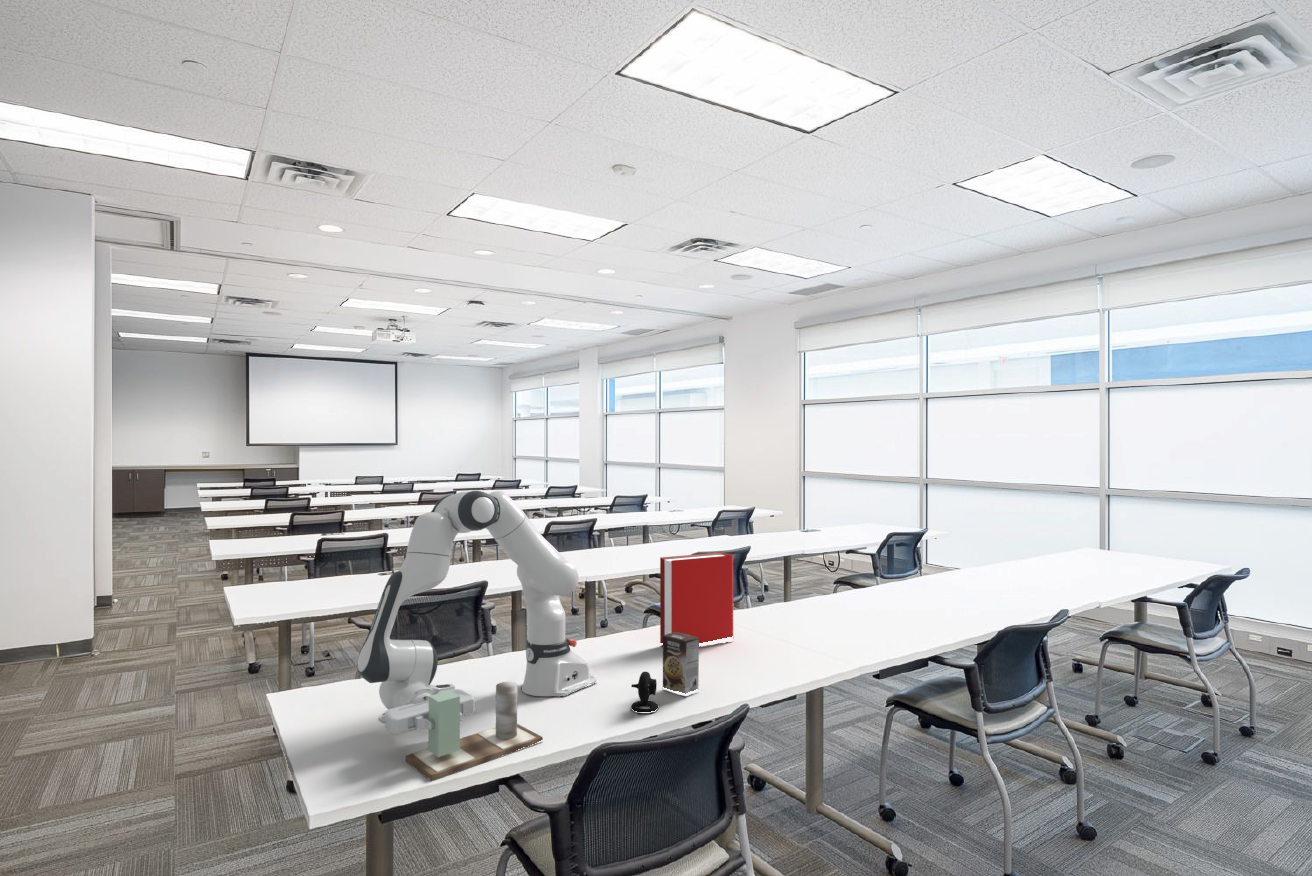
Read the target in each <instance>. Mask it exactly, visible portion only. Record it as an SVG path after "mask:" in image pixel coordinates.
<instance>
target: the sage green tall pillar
mask: <svg viewBox="0 0 1312 876" xmlns="http://www.w3.org/2000/svg"><path fill="white" fill-rule="evenodd" d="M429 719H433V720H434V721H435V728H434V729H431V730H427V731H428V738H427V739H428V742H427V745H428V748H427V749H428V750H429V751H430V752H432V753H433V754H435V755H436V756H437V757H441V756H444V755H447V754H450V753H453V752H456V751H459V750H460V738H461V737H460V736H461V735H460V734H461V732H460V729H461V726H460V723H461V721H460V696H458V695H456V694H455V693H453V692H451V691H447V692H443V693H439V694H435V695H431V696H429Z"/></svg>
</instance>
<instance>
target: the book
mask: <svg viewBox="0 0 1312 876" xmlns="http://www.w3.org/2000/svg"><path fill="white" fill-rule="evenodd" d="M659 564H660V565H659V566H660V567H659V569H660V570H659V571H660V572H659V574H660V575H659V576H660V577H659V578H660V580H659V582H660V583H659V584H660V585H659V587H660V589H659V593H660V594H659V595H660V596H659V597H660V599H659V600H660V601H659V603H660V604H659V605H660V609H659V612H660V613H659V614H660V615H659V617H660V624H659V630H660V631H659V636H660V637H659V638H660V641H659V644H660V643H663V635H666V634H669V633H674V632H679V633H683V634H687V635H691V636H695V637H699V643H703V642H708V641H713V640H717V639H722V638H727V637H732V636H733V637H734V554H732V553H728V552H709V553H697V554H696V553H695V554H685V555H675V556H663V557H660V558H659Z"/></svg>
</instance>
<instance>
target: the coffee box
mask: <svg viewBox="0 0 1312 876" xmlns="http://www.w3.org/2000/svg"><path fill="white" fill-rule="evenodd" d="M699 655H700V648H699V637H695V636H691V635H687V634H683V633H679V632H674V633H669V634H666V635H663V646H662V688H663V687H664V688H667V689H670V690H673V691H679V692H682V693H685V694H686V693H688V692H690V691H694V690H696V689H698V690H699V686H700V685H699V681H700V680H699V674H700V673H699V671H700V670H699V663H700V662H699V661H700V656H699Z"/></svg>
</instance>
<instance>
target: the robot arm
mask: <svg viewBox="0 0 1312 876" xmlns="http://www.w3.org/2000/svg"><path fill="white" fill-rule="evenodd" d="M485 529H486V530H487V531H488V532H489V534H490V535H491V537H492V538H493V539H494V540H495V542H496V543H497V544H498V546H499V547H500V548H501V550H503V552H504V553H505V554H506V556H507V557H508V558H509V559H510V560H511V561H512V562H514V563H515V564H516V565H517V567H516V576H517V579H518V580H519V583H520V584H521V587H522V588H521V589H522V592H523V597H524V598H523V599H524V602H525V607H526V614H527V640H526V643H525V644H526V645H525V655H526V657H525V658H526V666H525V667H526V668H525V674H524V679H523V683H522V687H521V691H522V693H524V694H526V695H530V696H534V697H560V696H564V697H566V696H565V695H567V694H569V693H571V692H573V691H577V690H579V689H581V688H583V687H585V686H587V685H588V684H593V683H595V682H596V681H597V678H596V677H595V676H594V675H592V674H590V672H589V671H590V670H589V667H588V663H587V661H586V660H585V659H584V658H582V657H581V656H579V655H578V654H576V653H575V652H574V651H572V650H571V647H572V648H575V647H577V644H578V641H577V640H576V639H572V638H571V639H568V638H567V637H566V612H565V609H564V607H563V605H562V601H561V600H560V597H567V596H569V595H571V594H572V593H574V591H575V590H576V588H577V587H578V584H579V578H580V577H579V573H578V570H577V567H575V566H574V565H573V564H572V563H571V562H569V561H568V560H567V559H566V558H565V557H564V556H563V554H561V553H560V552H559V551H558V550H557V549H556V548H555V547H554V546H553V545H552V544H551V543H550V542H549V541H548V540H547V539H546V538H545V537H544V536H543V535H542V534H541V533H540V531H538V529H537V528H536V526H535V525H534V524H533V521H531V520H530V518H529V517H528V516H527V514H526V513H525V512H524V511H523V509H522V508H521V507H520V506H519V505H518V504H517V503H516V502H515V500H513V498H511V497H510V496H509V495H508V494H507V493H505V492H504V491H500V490H496V491H491V492H489V493H487V492H484V491H481V490H470V491H467V490H466V491H459V492H456V493H454V494H448V495H445V496H443V497H442V498H440V499H439V500H438V501H437V502H436V503H435V504H434V506H433V508H432V510H431V511H430V512H425V513H423V514H420V515H419V516H417V518H416V519H415V521H414V523H413V527H412V530H411V532H410V536H409V540H408V544H407V547H406V548H407V550H406V555H405V558H404V561H403V563H402V565H401V567H400V568H399V570H398V571H395V572H394V573H392V574H390V576H389V578H388V579H387V581H386V584H385V586H384V588H383V591H382V594H381V596H380V600H379V602H378V605H377V608H376V611H375V614H374V617H373V619H372V623H371V626H370V627H369V631H368V634H367V636H366V638H365V640H364V642H363V645H362V647H361V649H360V651H359V654H358V657H357V663H356V669H357V672H358V673H359V675H360V676H361V677H362V678H363V679H364V681H366V682H368V683H370V684H376V683H380V685H379V689H378V694H379V698H380V701H381V702H382V704H383V706H384V707H385V708H386V709H387V710H386V711H385V712H383V713H382V714H381V715H379V716H378V718H377V720H378V722H380V723H382V724H384V727H385V729H386V730H387V732H388V733H389V734H390V735H397V736H398V735H401V734H403V733H407V732H410V731H411V732H412V731H414V730H417V729H424V730H425V729H426V730H427V731H428V730H431V729H434V728H435V721H434V720H433V719H429V696H431V695H435V694H439V693H443V692H447V691H451V692H453V693H455V694H456V695H458V696H460V722H462V721H463V716H466V715H469V714H473V713H474V711H475V709H476V708H475V706H476V700H475V699H476V698H475V696H474V695H472V694H471V693H469V692H468V691H465V690H463V689H462V688H461V689H459V688H456V686H455V684H453V683H448V684H432V682H433V680H434V678H435V676H436V673H437V670H438V663H439V657H438V654H437V651H436V649H435V647H434V645H433V644H432V643H431V642H430V641H428V640H426V639H425V640H422V639H391V638H390V637H391V634H392V630H393V627H394V624H395V621H396V619H397V615H398V612H399V609H400V607H401V605H402V604H403V602H405V601H406V600H407V599H408V598H410V597H412V596H415V595H417V594H421V593H423V592H426V591H430V590H432V589H434V588H436V587H437V586H439V585H440V584H442V582H443V581H445V579H446V578H447V575H448V573H449V570H450V566H451V564H450V563H451V559H452V550H453V543H454V541H455V538H456V537H457V535H458V534H467V533H470V532H475V531H477V532H478V531H482V530H485ZM595 684H596V683H595ZM593 685H594V684H593ZM581 690H582V689H581ZM579 691H580V690H579ZM577 692H578V691H577ZM567 696H568V695H567Z"/></svg>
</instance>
